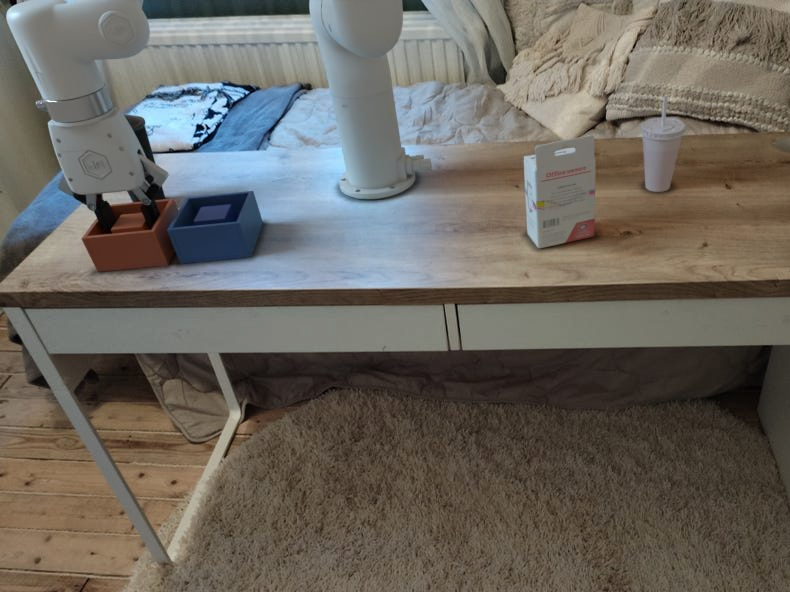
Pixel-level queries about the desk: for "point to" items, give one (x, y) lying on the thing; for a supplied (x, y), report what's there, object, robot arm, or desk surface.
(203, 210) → the blue block
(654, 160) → the smoothie
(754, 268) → the desk surface
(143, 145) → the drinking cup
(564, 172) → the ink cartridge box
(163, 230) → the terracotta bin
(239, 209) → the blue bin
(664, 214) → the desk surface
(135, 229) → the terracotta block
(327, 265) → the desk surface
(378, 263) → the desk surface
